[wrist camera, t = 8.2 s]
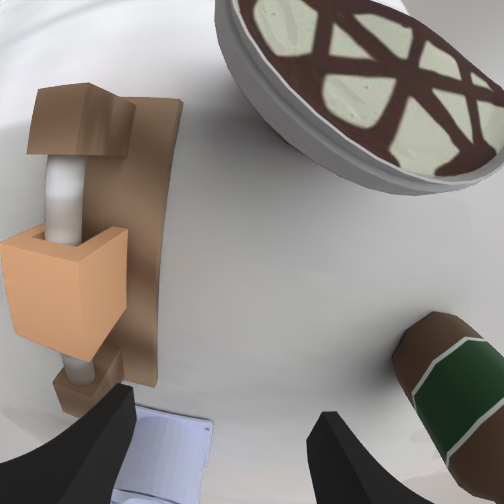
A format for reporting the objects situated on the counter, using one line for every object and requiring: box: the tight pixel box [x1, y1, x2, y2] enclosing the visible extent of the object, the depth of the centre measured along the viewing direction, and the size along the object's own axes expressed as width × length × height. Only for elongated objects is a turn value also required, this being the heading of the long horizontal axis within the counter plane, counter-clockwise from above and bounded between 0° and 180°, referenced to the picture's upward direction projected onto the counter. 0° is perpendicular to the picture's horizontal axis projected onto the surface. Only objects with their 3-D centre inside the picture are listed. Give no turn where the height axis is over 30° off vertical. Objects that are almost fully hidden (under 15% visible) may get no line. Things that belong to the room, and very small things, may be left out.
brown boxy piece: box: [27, 83, 183, 418], centre depth 14 cm, size 20×8×6 cm, turn 170°
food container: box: [214, 0, 504, 196], centre depth 10 cm, size 12×6×10 cm, turn 77°
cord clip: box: [0, 223, 128, 362], centre depth 12 cm, size 5×5×6 cm
